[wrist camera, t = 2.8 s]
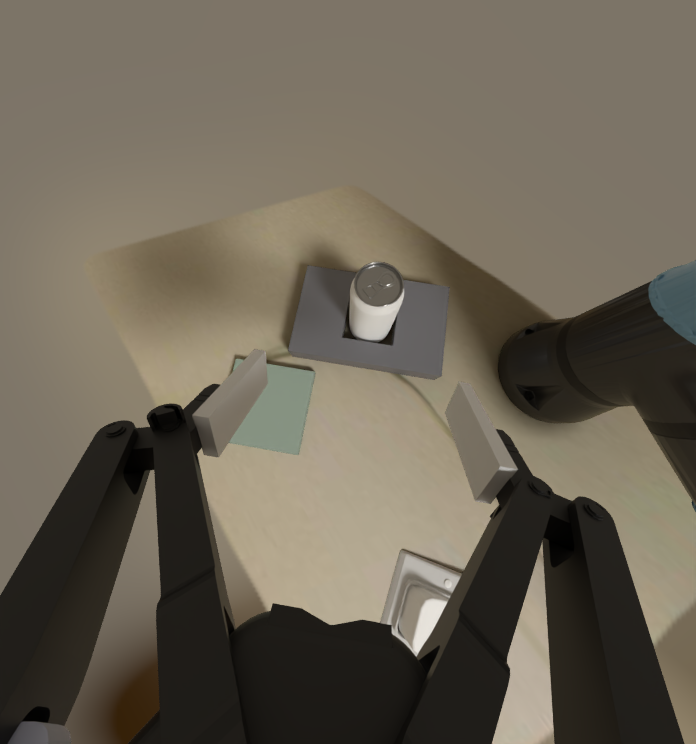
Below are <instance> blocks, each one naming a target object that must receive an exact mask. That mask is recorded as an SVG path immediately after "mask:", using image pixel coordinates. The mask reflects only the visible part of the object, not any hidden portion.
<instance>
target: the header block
mask: <svg viewBox="0 0 696 744" xmlns="http://www.w3.org/2000/svg"><path fill="white" fill-rule="evenodd" d="M356 274H357V273H355V272H348V271H342V270H335V269H329V268H322V267H316V266H309V265H308V266H307V271H306V275H305V279H304V284H303V288H302V292H301V297H300V301H299V305H298V310H297V314H296V318H295V323H294V327H293V331H292V336H291V340H290V344H289V348H288V351H289V353H290V354H291V355H292V356H293V357H299V358H305V359H311V360H317V361H323V362H329V363H335V364H342V365H348V366H354V367H360V368H366V369H372V370H378V371H384V372H390V373H396V374H402V375H408V376H414V377H420V378H426V379H432V380H435V379H437V378H439V377H441V376H442V365H443V354H444V343H445V332H446V321H447V310H448V299H449V288H450V287H446V286H440V285H433V284H427V283H420V282H414V281H407V280H403V281H404V298H403V301H402V304H401V306H400V309H399V311H398V313H397V315H396V318H395V320H394V324H393V332H392V339H391V345H385V344H379V343H373V342H367V341H360V340H354V339H348V338H343V337H344V332H345V327H346V321H347V316H348V310H349V305H350V288H351V284H352V281H353V280H354V278H355V276H356Z"/></svg>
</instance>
